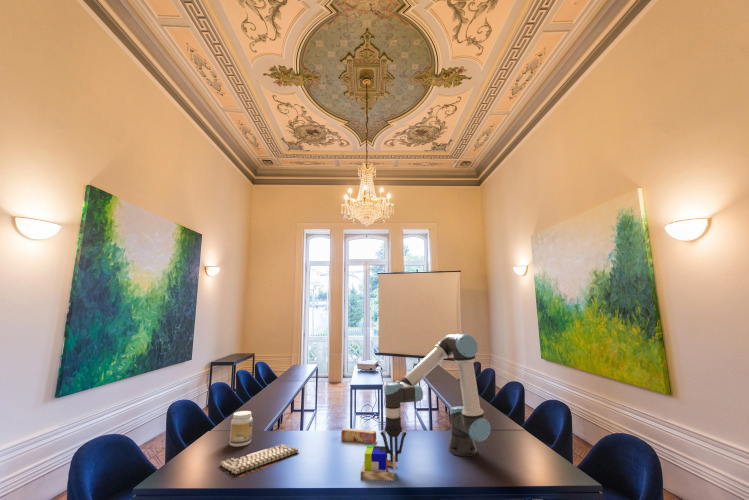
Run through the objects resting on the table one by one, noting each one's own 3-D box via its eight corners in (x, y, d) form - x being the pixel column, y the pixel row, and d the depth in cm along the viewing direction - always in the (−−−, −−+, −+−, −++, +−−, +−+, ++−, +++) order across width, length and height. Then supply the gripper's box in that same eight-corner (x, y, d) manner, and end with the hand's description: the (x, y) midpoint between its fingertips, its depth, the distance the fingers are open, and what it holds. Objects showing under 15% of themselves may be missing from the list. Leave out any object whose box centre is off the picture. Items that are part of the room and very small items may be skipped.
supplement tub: (253, 444, 197) (255, 413, 201) (231, 449, 190) (234, 417, 194) (248, 438, 207) (250, 409, 210) (227, 442, 200) (229, 412, 204)
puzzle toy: (385, 478, 156) (385, 454, 158) (364, 476, 157) (364, 453, 159) (387, 468, 165) (387, 446, 167) (367, 467, 166) (367, 445, 168)
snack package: (376, 440, 203) (376, 428, 205) (374, 444, 197) (374, 432, 198) (343, 438, 208) (343, 426, 210) (340, 441, 202) (340, 429, 203)
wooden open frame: (395, 465, 168) (395, 459, 169) (393, 480, 153) (393, 473, 153) (365, 464, 170) (365, 457, 171) (360, 478, 155) (360, 471, 155)
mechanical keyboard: (280, 446, 195) (281, 440, 196) (301, 455, 183) (301, 448, 184) (216, 469, 167) (217, 461, 168) (235, 480, 155) (236, 472, 156)
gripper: (406, 414, 169) (407, 466, 164) (381, 413, 170) (381, 465, 165) (405, 418, 161) (407, 473, 157) (379, 418, 163) (380, 472, 158)
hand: (394, 469), depth 161 cm, fingers closed
